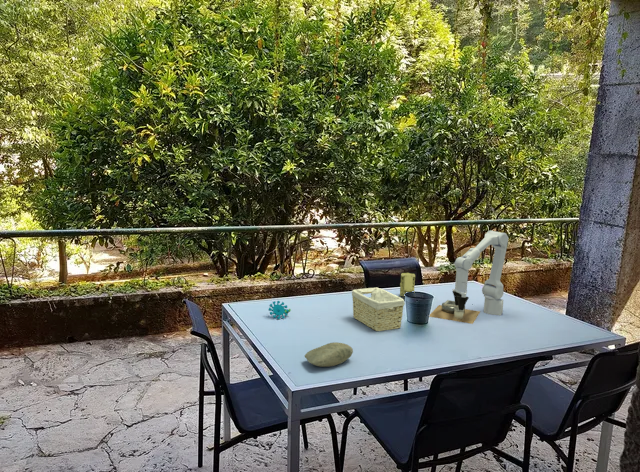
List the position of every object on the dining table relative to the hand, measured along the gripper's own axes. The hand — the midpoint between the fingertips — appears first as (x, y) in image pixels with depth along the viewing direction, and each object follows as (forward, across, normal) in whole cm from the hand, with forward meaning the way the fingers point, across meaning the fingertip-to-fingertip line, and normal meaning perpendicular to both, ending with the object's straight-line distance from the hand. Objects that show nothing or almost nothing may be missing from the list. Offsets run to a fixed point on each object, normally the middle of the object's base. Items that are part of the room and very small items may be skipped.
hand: (459, 307), depth 262 cm
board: (+6, -7, 0) cm, 9 cm away
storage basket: (+7, +12, -42) cm, 44 cm away
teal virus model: (+7, +9, -90) cm, 90 cm away
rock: (+7, +63, -64) cm, 90 cm away
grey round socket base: (+5, -12, 0) cm, 13 cm away
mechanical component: (+7, -38, -21) cm, 44 cm away
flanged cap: (+5, 0, 0) cm, 5 cm away
